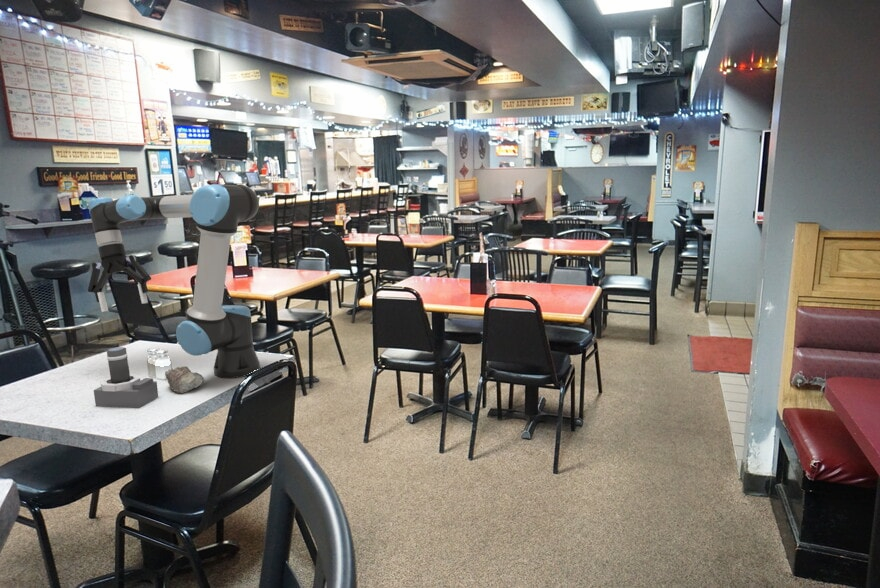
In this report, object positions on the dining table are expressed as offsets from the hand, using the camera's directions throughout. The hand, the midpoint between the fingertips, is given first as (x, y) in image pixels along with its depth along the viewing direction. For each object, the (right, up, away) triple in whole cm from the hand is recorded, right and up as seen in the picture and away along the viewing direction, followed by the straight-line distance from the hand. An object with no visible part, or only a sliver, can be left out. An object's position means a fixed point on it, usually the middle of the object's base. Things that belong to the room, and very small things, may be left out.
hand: (125, 307), depth 195 cm
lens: (+10, -23, -21) cm, 33 cm away
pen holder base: (+12, -28, -20) cm, 36 cm away
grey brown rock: (+24, -26, -9) cm, 36 cm away
